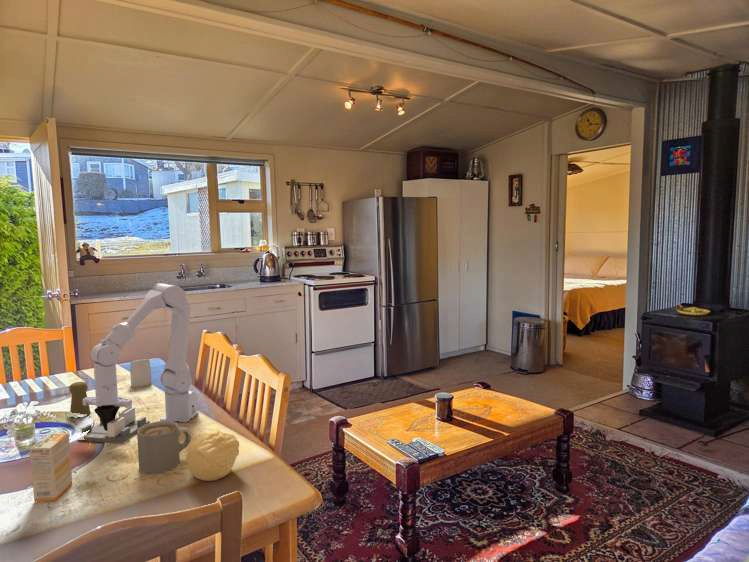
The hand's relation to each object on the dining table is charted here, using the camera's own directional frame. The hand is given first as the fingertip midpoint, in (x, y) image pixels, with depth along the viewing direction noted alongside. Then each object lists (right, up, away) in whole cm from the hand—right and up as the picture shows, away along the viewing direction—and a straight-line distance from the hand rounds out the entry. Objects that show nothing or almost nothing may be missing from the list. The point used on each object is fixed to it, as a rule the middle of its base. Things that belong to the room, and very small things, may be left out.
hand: (108, 429), depth 149 cm
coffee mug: (+23, -5, -15) cm, 28 cm away
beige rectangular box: (-13, +3, +50) cm, 51 cm away
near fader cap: (+2, -1, 0) cm, 3 cm away
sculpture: (+38, -5, -21) cm, 44 cm away
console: (0, -2, +4) cm, 5 cm away
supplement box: (+3, -6, -30) cm, 31 cm away
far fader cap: (+2, 0, +8) cm, 8 cm away
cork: (-19, -1, +18) cm, 26 cm away
